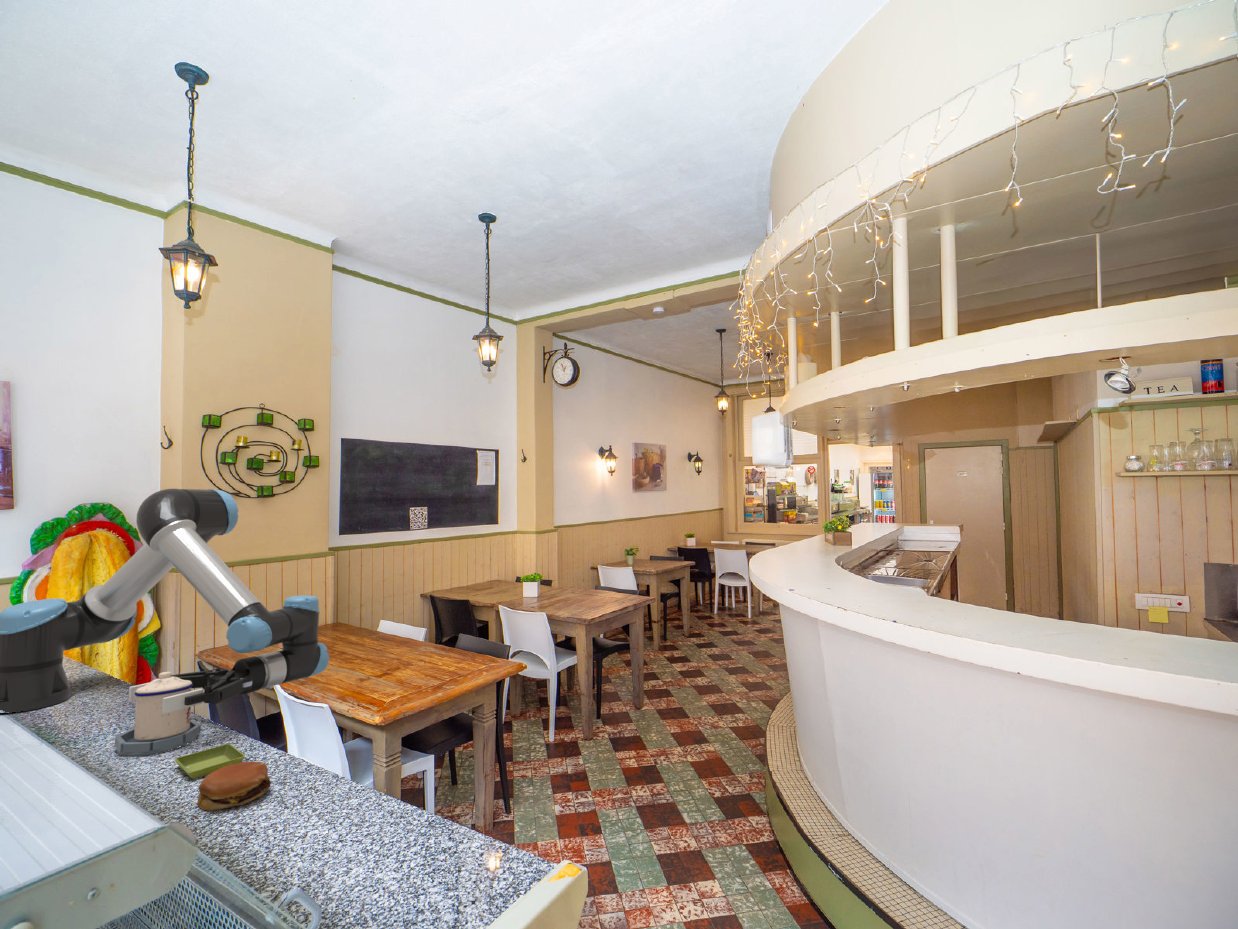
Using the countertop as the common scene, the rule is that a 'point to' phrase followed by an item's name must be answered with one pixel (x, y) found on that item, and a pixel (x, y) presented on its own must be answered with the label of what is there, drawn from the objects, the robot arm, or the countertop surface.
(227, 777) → the burger
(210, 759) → the green shallow square dish
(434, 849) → the countertop surface
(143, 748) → the ashtray
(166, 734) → the teacup with lid
